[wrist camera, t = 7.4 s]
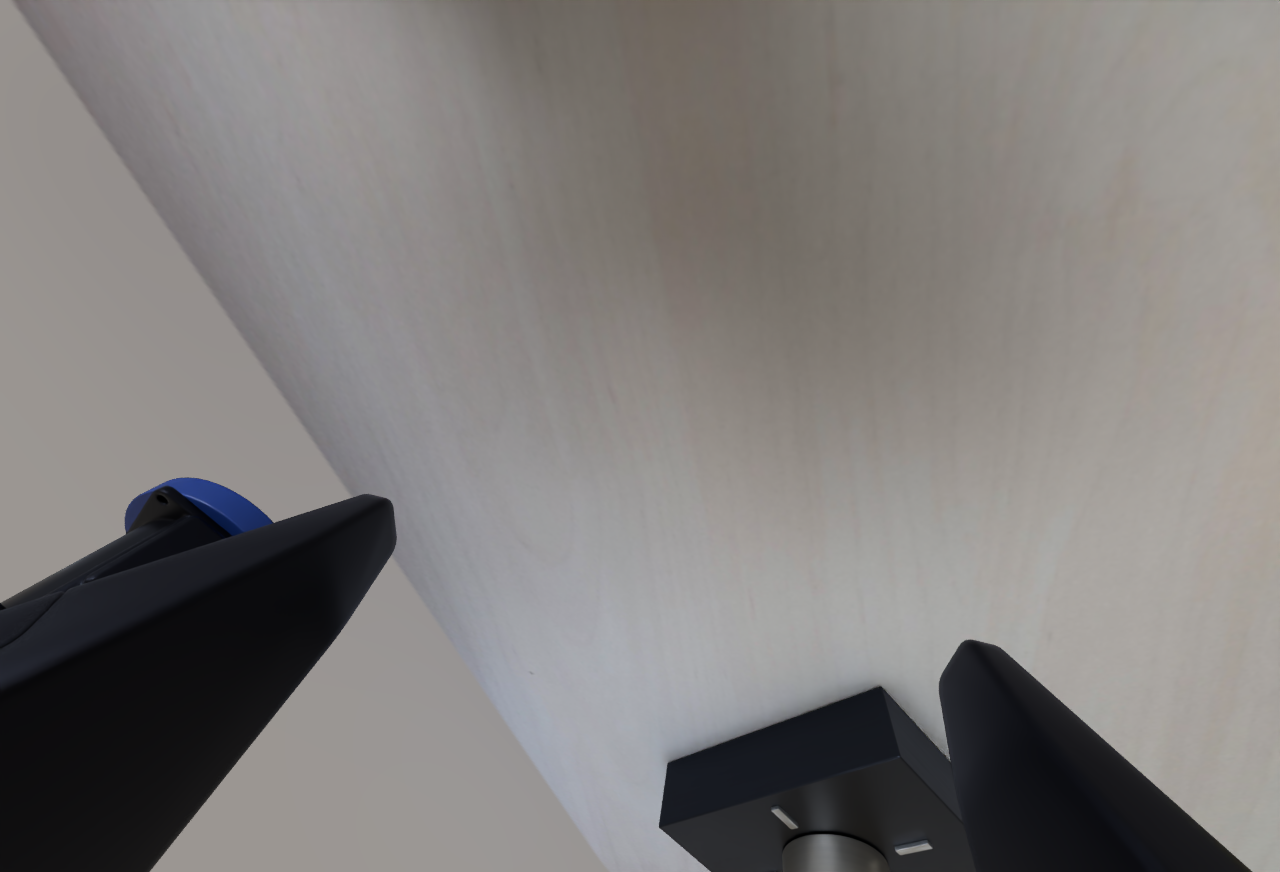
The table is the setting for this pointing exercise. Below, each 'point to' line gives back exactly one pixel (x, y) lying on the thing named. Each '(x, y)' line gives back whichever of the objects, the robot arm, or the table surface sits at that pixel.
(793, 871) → the knob
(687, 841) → the panel
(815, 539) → the table surface
